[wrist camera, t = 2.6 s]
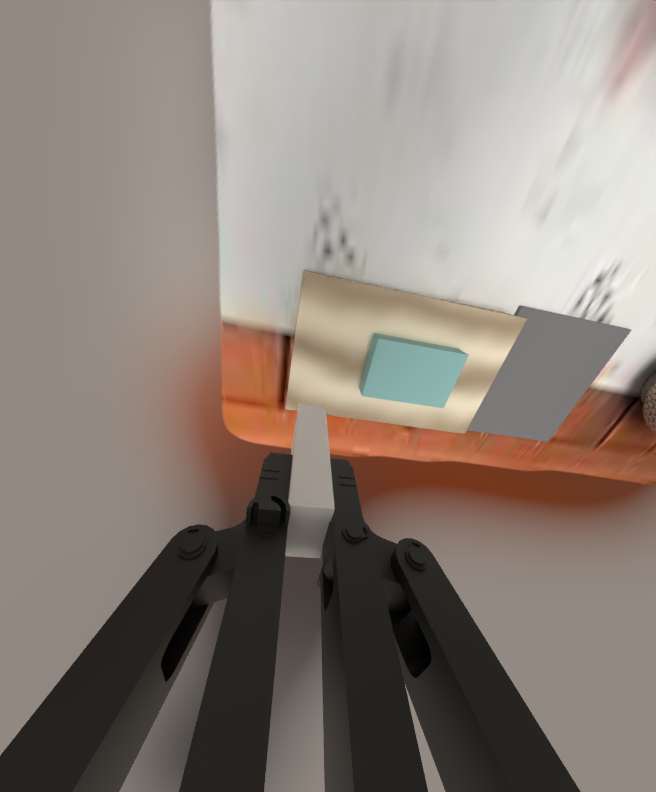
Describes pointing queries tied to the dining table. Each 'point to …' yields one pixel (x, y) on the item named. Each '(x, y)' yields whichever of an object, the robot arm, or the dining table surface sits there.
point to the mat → (545, 374)
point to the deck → (399, 317)
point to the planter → (649, 402)
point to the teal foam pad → (410, 371)
